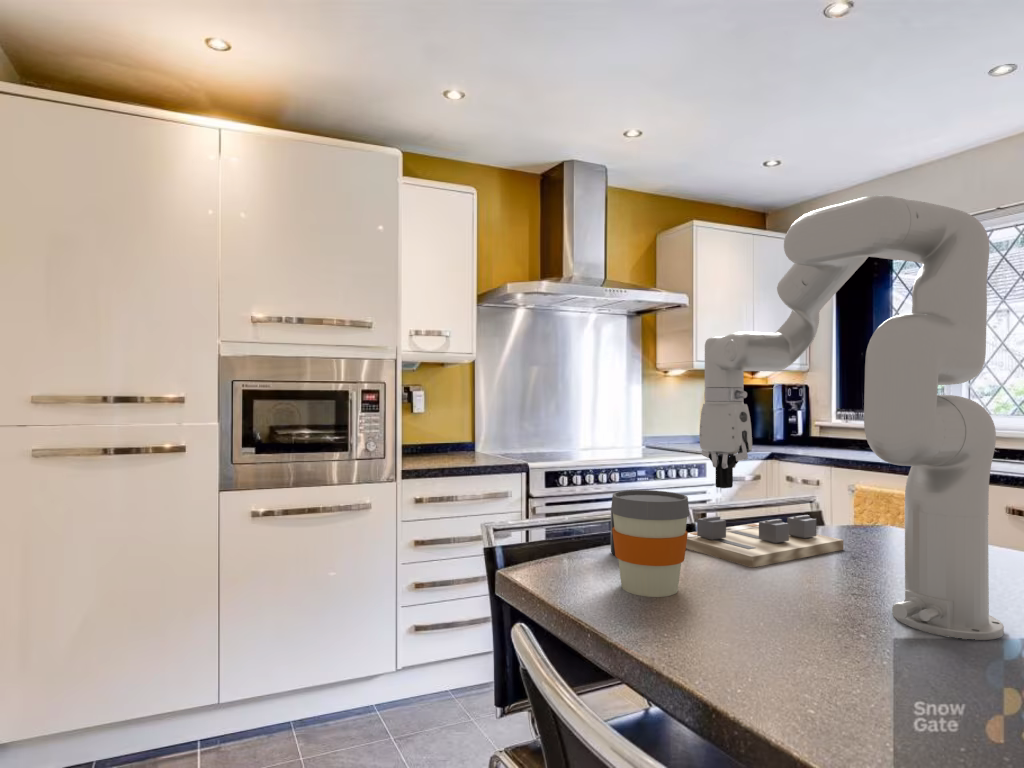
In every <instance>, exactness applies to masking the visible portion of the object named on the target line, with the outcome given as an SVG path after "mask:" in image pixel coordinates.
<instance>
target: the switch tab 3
mask: <svg viewBox="0 0 1024 768" xmlns="http://www.w3.org/2000/svg"><path fill="white" fill-rule="evenodd" d="M786 519H787V520H786V523H789V535H792V536H797V537H801V538H808V537H814V536H816V534H817V518H811V516H810V514H809V515H808V514H804V515H797V516H790V517H786Z"/></svg>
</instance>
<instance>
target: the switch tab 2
mask: <svg viewBox="0 0 1024 768" xmlns="http://www.w3.org/2000/svg"><path fill="white" fill-rule="evenodd" d="M758 523H759V539H761V540H765V541H769V542H773V543H779V542H785V541H789V523H787V522H784V521H783V519H781V518H774V519H769V520H768V519H767V520H760V521H758Z"/></svg>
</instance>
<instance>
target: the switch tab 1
mask: <svg viewBox="0 0 1024 768" xmlns="http://www.w3.org/2000/svg"><path fill="white" fill-rule="evenodd" d="M696 520H697V521H696V522H697V524H696V525H697V527H696V532H697V536H700V537H704V538H708V539H711V540H714V539H720V538H726V527H727V520H725V519H721V516H718V515H717V516H715V515H714V516H707V517H702V518H701V517H700V518H697V519H696Z"/></svg>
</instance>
